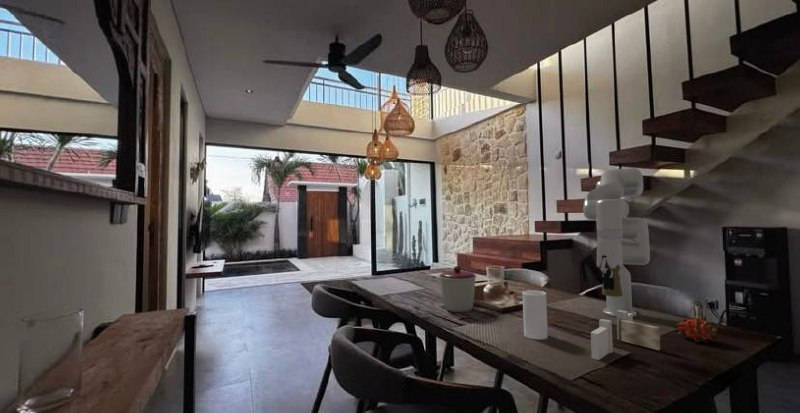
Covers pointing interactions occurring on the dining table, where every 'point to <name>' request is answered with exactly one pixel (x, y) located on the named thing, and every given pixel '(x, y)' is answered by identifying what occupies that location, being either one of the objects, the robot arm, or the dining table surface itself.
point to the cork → (617, 286)
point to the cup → (535, 314)
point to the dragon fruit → (697, 329)
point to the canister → (458, 289)
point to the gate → (639, 334)
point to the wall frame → (606, 335)
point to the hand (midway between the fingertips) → (611, 287)
